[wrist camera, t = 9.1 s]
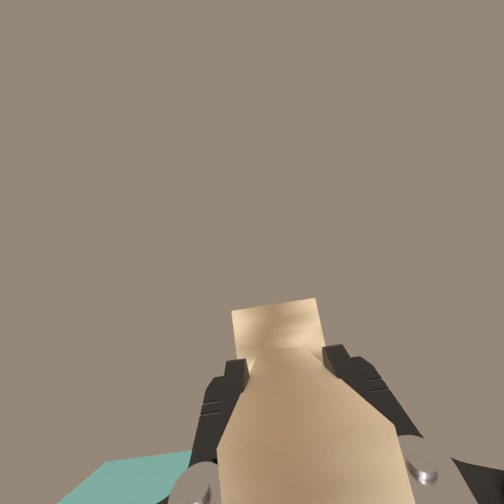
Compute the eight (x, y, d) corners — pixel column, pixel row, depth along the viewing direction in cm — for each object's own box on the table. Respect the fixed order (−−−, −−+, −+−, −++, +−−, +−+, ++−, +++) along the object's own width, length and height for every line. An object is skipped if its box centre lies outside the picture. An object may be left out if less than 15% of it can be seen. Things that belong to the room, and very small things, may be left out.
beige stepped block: (320, 375, 20) (305, 302, 22) (583, 675, 3) (424, 240, 5) (249, 385, 21) (240, 313, 22) (133, 717, 3) (129, 288, 5)
